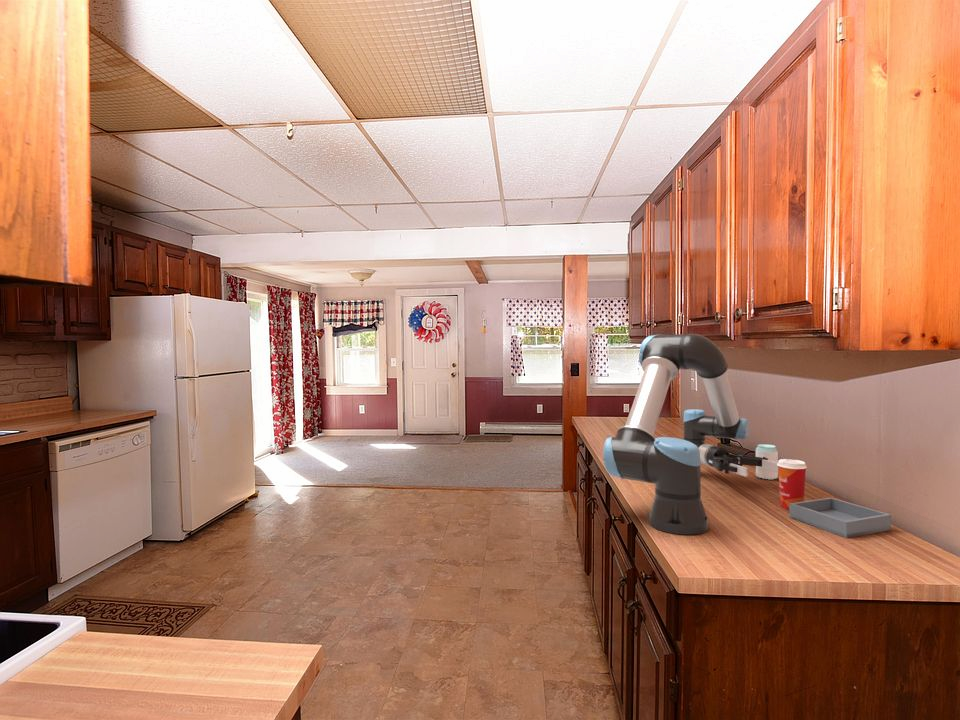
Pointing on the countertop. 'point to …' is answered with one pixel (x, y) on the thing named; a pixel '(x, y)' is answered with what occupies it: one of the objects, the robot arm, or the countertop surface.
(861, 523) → the box
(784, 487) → the paper cup
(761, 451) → the can
